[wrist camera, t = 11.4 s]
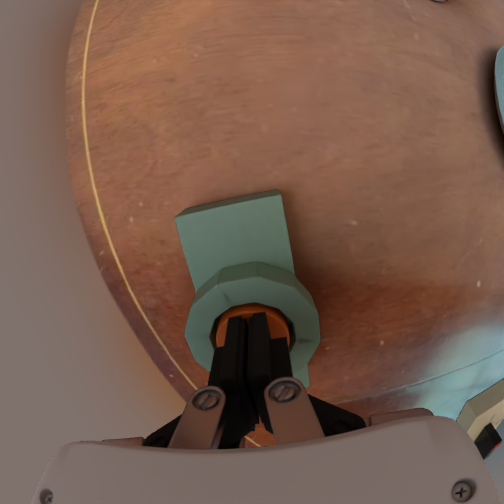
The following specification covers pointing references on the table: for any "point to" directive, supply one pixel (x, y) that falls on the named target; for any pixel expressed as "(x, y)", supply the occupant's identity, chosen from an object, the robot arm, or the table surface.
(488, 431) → the knob
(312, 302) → the block
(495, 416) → the panel
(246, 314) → the button
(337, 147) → the table surface
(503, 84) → the saucer
